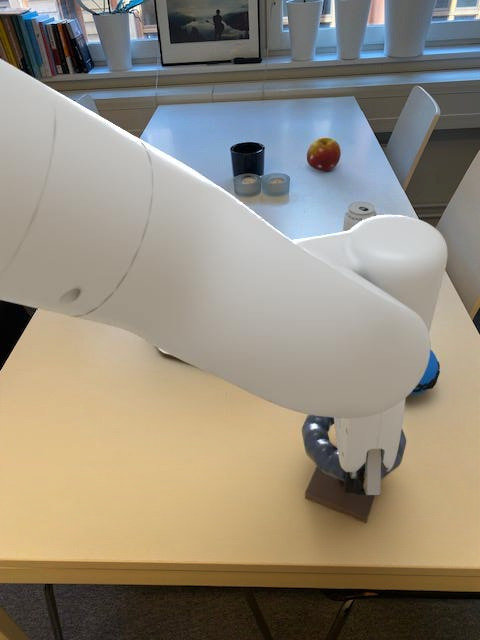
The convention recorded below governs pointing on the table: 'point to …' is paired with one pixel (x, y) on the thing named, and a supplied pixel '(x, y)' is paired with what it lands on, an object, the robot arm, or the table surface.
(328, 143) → the fruit
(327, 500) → the stand
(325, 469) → the ring
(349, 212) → the energy drink can
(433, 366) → the ornament
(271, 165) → the table surface
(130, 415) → the table surface
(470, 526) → the table surface
